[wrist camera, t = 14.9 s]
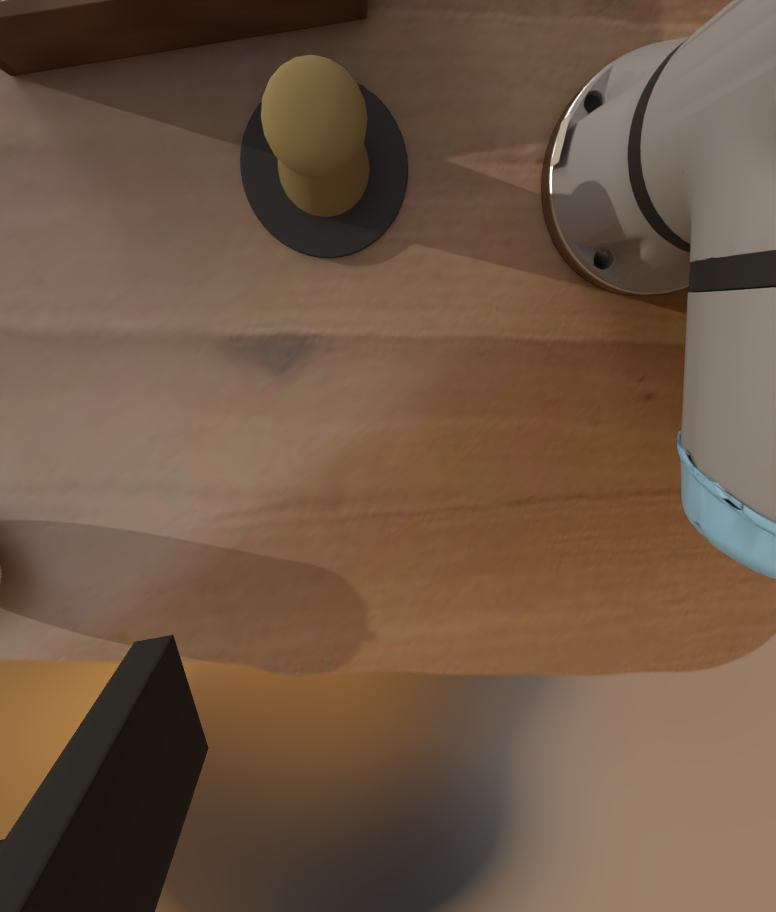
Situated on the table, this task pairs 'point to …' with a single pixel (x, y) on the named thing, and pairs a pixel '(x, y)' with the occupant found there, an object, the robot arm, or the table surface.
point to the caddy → (145, 26)
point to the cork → (317, 134)
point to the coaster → (335, 231)
